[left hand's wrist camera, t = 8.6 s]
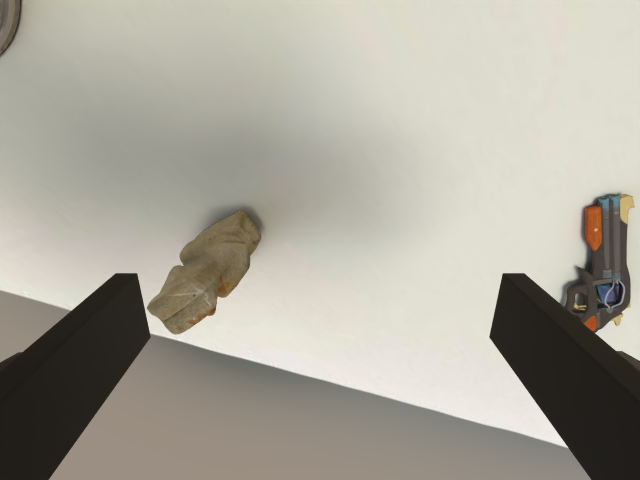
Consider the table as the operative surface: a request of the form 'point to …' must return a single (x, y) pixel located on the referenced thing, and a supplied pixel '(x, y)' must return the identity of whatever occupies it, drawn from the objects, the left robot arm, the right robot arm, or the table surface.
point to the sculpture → (206, 272)
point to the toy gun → (604, 264)
